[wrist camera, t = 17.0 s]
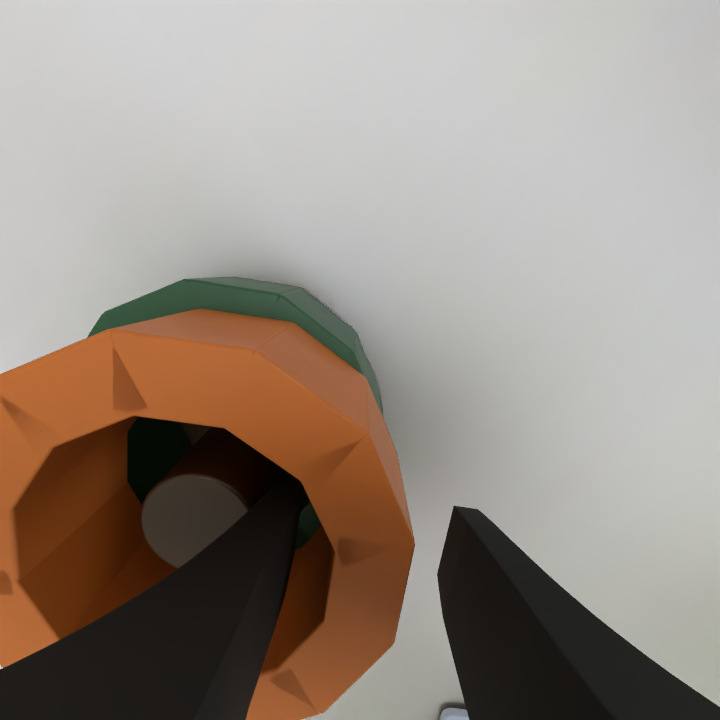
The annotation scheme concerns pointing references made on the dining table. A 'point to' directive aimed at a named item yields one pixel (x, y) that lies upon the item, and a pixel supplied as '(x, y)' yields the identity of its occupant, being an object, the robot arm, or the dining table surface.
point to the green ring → (241, 296)
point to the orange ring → (247, 422)
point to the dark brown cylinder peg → (205, 492)
